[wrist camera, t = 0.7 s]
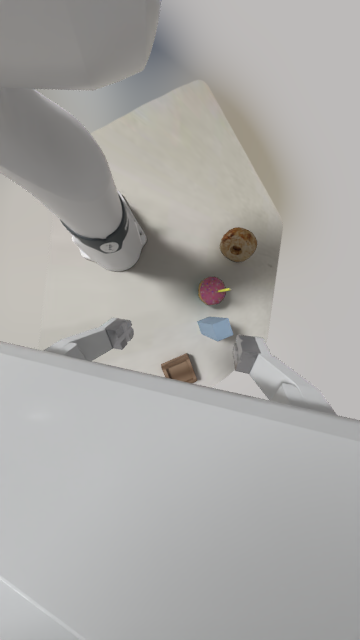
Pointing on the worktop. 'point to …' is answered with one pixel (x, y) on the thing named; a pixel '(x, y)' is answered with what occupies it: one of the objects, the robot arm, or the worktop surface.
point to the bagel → (238, 244)
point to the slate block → (215, 328)
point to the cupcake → (212, 290)
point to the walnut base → (179, 369)
